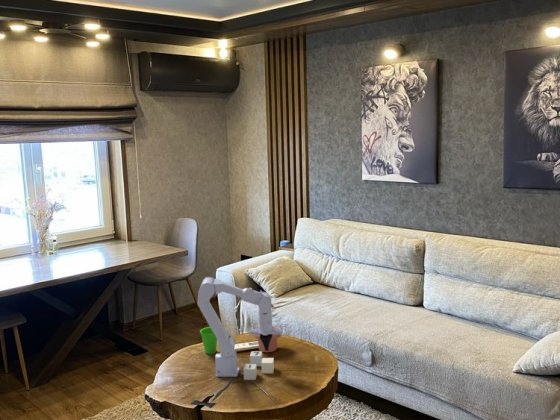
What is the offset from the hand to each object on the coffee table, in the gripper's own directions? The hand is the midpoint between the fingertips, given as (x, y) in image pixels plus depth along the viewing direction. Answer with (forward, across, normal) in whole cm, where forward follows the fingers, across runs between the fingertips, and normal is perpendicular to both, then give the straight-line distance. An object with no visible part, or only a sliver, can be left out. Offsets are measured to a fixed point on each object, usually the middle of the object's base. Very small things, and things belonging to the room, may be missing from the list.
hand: (266, 349), depth 251 cm
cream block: (+10, 0, 0) cm, 10 cm away
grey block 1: (+10, -7, -6) cm, 14 cm away
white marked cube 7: (+10, -6, +7) cm, 14 cm away
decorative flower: (+10, -2, +22) cm, 24 cm away
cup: (+10, -30, +20) cm, 37 cm away
